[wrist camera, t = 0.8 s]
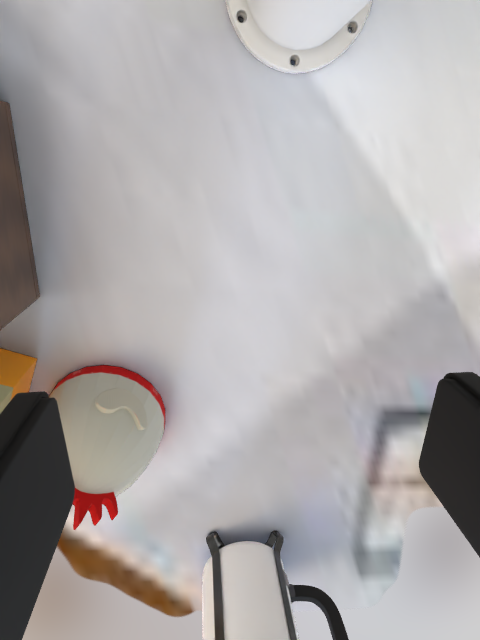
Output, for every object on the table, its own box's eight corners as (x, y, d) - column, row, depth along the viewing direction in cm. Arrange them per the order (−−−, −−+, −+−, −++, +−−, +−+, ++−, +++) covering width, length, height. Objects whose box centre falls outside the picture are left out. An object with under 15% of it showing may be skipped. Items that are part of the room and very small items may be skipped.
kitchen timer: (84, 343, 42) (28, 432, 28) (187, 401, 46) (182, 502, 33) (26, 429, 46) (-49, 545, 32) (127, 475, 50) (100, 595, 36)
